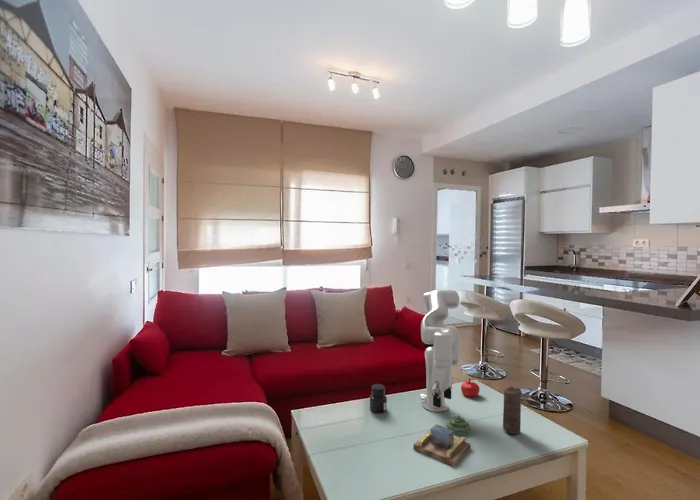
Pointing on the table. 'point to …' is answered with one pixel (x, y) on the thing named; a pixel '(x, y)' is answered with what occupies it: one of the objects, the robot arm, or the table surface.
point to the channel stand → (443, 449)
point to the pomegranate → (470, 389)
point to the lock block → (442, 436)
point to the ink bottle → (378, 399)
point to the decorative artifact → (459, 426)
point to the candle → (512, 409)
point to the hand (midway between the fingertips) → (442, 402)
